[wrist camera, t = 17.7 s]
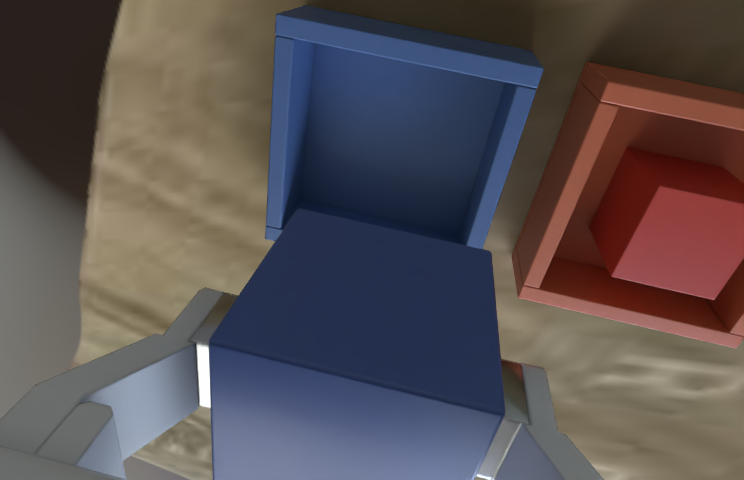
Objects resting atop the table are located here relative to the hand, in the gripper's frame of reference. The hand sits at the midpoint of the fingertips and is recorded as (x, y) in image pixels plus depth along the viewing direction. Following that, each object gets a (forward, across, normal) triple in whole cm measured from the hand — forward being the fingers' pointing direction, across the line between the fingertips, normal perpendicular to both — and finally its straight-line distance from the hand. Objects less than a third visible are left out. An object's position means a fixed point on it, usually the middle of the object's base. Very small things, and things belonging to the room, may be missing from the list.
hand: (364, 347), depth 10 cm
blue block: (+2, 0, 0) cm, 2 cm away
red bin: (+16, -12, +1) cm, 20 cm away
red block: (+15, -12, +1) cm, 19 cm away
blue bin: (+16, +1, +1) cm, 16 cm away
